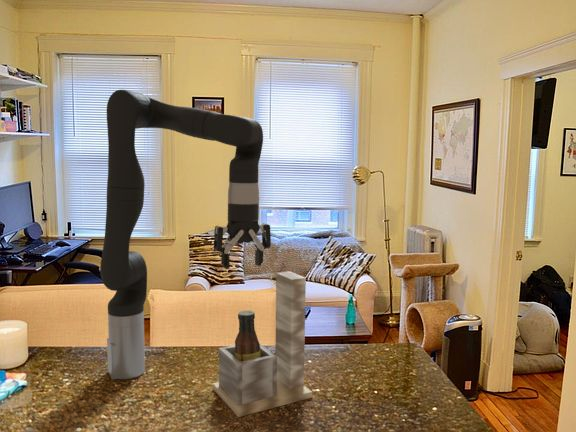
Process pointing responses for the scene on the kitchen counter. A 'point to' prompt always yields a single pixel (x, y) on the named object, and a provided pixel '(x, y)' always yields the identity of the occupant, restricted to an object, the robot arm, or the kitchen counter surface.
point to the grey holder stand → (270, 358)
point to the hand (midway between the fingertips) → (242, 266)
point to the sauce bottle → (246, 338)
